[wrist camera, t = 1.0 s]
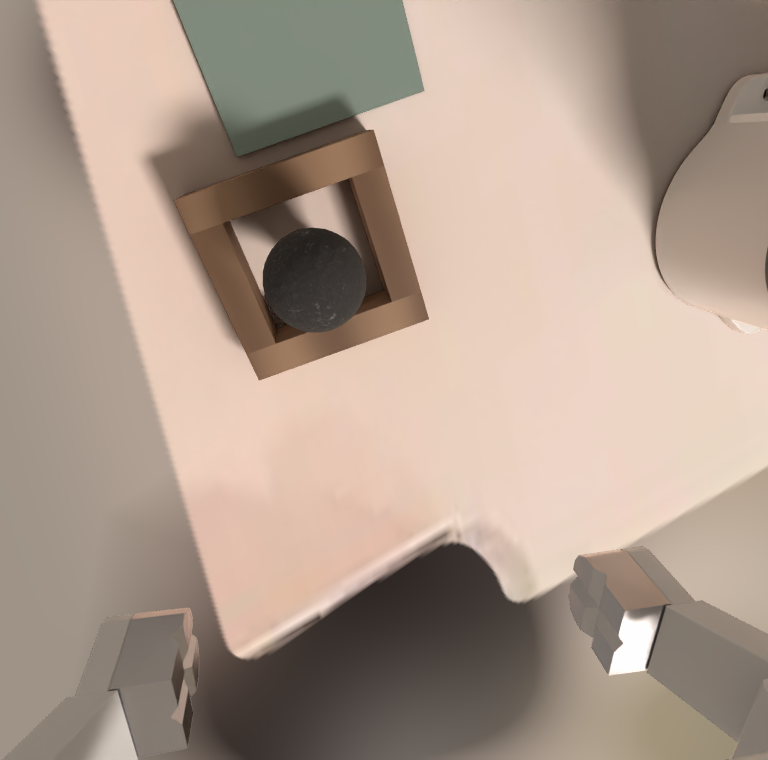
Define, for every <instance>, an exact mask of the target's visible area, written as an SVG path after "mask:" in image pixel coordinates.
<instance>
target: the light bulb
mask: <svg viewBox="0 0 768 760" xmlns="http://www.w3.org/2000/svg"><path fill="white" fill-rule="evenodd" d="M366 281H367V280H366V272H365V268H364V265H363V262H362V259H361V257H360V256H359V254H358V252H357V250H356V249H355V248H354V247H353V246H352V245H351V243H350V242H349V241H348V240H346V239H345V238H343V237H342V236H340V235H338V234H337V233H334V232H332V231H329V230H326V229H320V228H307V229H300V230H297V231H295V232H292V233H290V234H288V235H287V236H285V237H284V238H282V239H281V240H280V241H279V242H278V243H277V244H276V245H275V246H274V248H273V249H272V250H271V251H270V253H269V255H268V257H267V260H266V262H265V265H264V270H263V287H264V292H265V296H266V299H267V301H268V303H269V305H270V306H271V308H272V310H273V311H274V313H275V314H276V315H277V316H278V317H279V318H280V319H281V320H282V321H284V322H285V323H287V324H288V325H290V326H291V327H294V328H296V329H298V330H301V331H306V332H310V333H318V332H326V331H331V330H333V329H335V328H338V327H340V326H342V325H343V324H345V323H346V322H347V321H348V320H349V319H351V318H352V317H353V316H354V314H355V313H356V312H357V311H358V309H359V307H360V305H361V303H362V301H363V299H364V295H365V292H366Z"/></svg>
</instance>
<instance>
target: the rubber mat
mask: <svg viewBox="0 0 768 760" xmlns="http://www.w3.org/2000/svg"><path fill="white" fill-rule="evenodd" d="M173 2H174V4H175V7H176V9H177V11H178V14H179V16H180V19H181V21H182V24H183V26H184V29H185V31H186V33H187V36H188V38H189V41H190V43H191V46H192V48H193V51H194V53H195V56H196V58H197V60H198V63H199V65H200V68H201V70H202V73H203V75H204V78H205V80H206V82H207V85H208V87H209V90H210V92H211V95H212V97H213V100H214V102H215V105H216V107H217V109H218V112H219V114H220V117H221V119H222V122H223V124H224V127H225V129H226V131H227V134H228V136H229V139H230V141H231V144H232V146H233V149H234V151H235V154H236V156H237V157H239V156H242V155H244V154H247V153H250V152H253V151H256V150H258V149H261V148H264V147H267V146H270V145H273V144H275V143H278V142H281V141H284V140H287V139H290V138H292V137H295V136H298V135H301V134H304V133H306V132H309V131H312V130H315V129H318V128H321V127H323V126H326V125H329V124H332V123H335V122H338V121H340V120H343V119H346V118H349V117H352V116H355V115H357V114H360V113H363V112H366V111H369V110H371V109H374V108H377V107H380V106H383V105H386V104H388V103H391V102H394V101H397V100H400V99H403V98H405V97H408V96H411V95H414V94H417V93H420V92H422V91H424V87H423V83H422V79H421V75H420V71H419V67H418V63H417V59H416V55H415V50H414V46H413V42H412V38H411V34H410V30H409V26H408V22H407V18H406V14H405V10H404V6H403V2H402V0H173Z"/></svg>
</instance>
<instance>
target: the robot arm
mask: <svg viewBox="0 0 768 760" xmlns="http://www.w3.org/2000/svg"><path fill="white" fill-rule="evenodd" d="M765 90H766V96H765V98H763V94H764V91H765ZM656 255H657V261H658V265H659V269H660V271H661V274H662V276H663V278H664V281H665V282H666V284H667V286H668V287H669V288H670V290H671V291H672V292H673V293H674V294H675V295H676V296H677V297H678V298H679V299H681V300H682V301H683V302H685V303H687V304H688V305H690V306H693V307H695V308H698V309H702V310H706V311H709V312H713V313H715V314H717V315H719V316H720V317H721V318H722V320H723V321H724V322H725V323H726V324H727V325H728V326H729V327H730V328H732V329H733V330H735V331H738V332H741V333H745V334H753V333H755V332H758V331H759V330H761V329H764V330H767V331H768V73H762V74H754V75H748V76H744V77H742V78H741V79H739V80H738V81H737V82H736V83H735V84H734V85H733V87H732V88H731V89H730V91H729V93H728V94H727V96H726V98H725V100H724V102H723V104H722V107H721V109H720V111H719V113H718V116H717V118H716V120H715V122H714V125H713V126H712V127H711V129H710V130H709V132H708V133H707V134H706V135H705V137H704V138H703V139H702V140H701V141H700V142H699V144H698V145H697V146H696V147H695V148H694V149H693V150H692V152H691V153H690V154H689V155H688V157H687V158H686V159H685V160H684V162H683V163H682V165H681V166H680V168H679V169H678V171H677V173H676V174H675V176H674V178H673V180H672V181H671V183H670V185H669V188H668V190H667V192H666V195H665V197H664V200H663V203H662V205H661V209H660V213H659V217H658V222H657V228H656ZM573 570H574V571H575V573H576V574H577V576H578V577H577V578H576V579H575V580H574V581H573V582H572V583H571V584H570V591H569V602H570V609H571V612H572V614H573V617H574V620H575V621H576V623H577V625H578V626H579V628H580V630H582V631H583V632H585V633H586V634H588V635H589V636H591V637H593V639H592V649H593V651H594V653H595V654H596V656H597V658H598V659H599V661H600V662H601V664H602V666H603V667H604V669H605V670H606V672H607V673H608V675H615V674H623V673H630V672H635V671H636V672H637V671H643V670H647V673H648V674H650V675H651V676H652V677H654V678H655V679H656V680H657V681H659V682H660V683H661V684H663V685H664V686H665V687H666V688H668V689H669V690H670V691H672V692H673V693H674V694H676V695H677V696H678V697H679V698H681V699H682V700H683V701H685V702H686V703H687V704H689V705H690V706H691V707H693V708H694V709H695V710H696V711H698V712H699V713H700V714H702V715H703V716H704V717H706V718H707V719H708V720H710V721H711V722H712V723H713V724H715V725H716V726H717V727H719V728H720V729H721V730H723V731H724V732H725V733H726V734H728V735H729V736H730V737H732V738H733V739H734V740H736V741H737V743H736V745H735V748H734V750H733V752H732V755H731V757H730V759H727V760H768V634H767V633H765V632H763V631H761V630H759V629H757V628H755V627H753V626H751V625H749V624H747V623H745V622H743V621H741V620H739V619H738V618H735V617H734V616H732V615H730V614H728V613H726V612H724V611H722V610H720V609H718V608H716V607H714V606H712V605H710V604H708V603H706V602H704V601H695V600H694V599H693V598H692V597H691V596H690V595H689V594H688V592H687V591H686V590H685V589H684V588H683V587H682V586H681V585H680V584H679V582H678V581H677V580H676V579H675V578H674V577H673V576H672V575H671V574H670V572H669V571H668V570H667V569H666V568H665V567H664V566H663V565H662V564H661V562H660V561H659V560H658V559H657V558H656V557H655V556H654V555H653V554H652V553H651V552H650V550H649V549H647V548H645V547H643V546H640V547H633V548H626V549H621V550H612V551H605V552H598V553H591V554H584V555H579V556H578V557H577V558H576V560H575V563H574V568H573ZM192 626H193V618H192V614H191V610H190V609H189V608H181V609H172V610H162V611H153V612H145V613H135V614H130V615H122V616H112V617H107V618H106V619H105V620H104V622H103V623H102V624H101V626H100V629H99V632H98V635H97V637H96V640H95V643H94V646H93V648H92V651H91V654H90V656H89V659H88V662H87V664H86V667H85V670H84V672H83V675H82V678H81V681H80V683H79V686H78V689H77V691H76V694H75V696H74V697H69V698H66V699H64V700H63V701H62V702H61V703H60V704H59V705H58V706H57V707H56V708H55V709H54V710H53V711H52V712H51V713H50V714H49V715H48V716H47V717H46V718H45V719H44V720H43V721H42V722H41V723H40V724H38V725H37V726H36V727H35V728H34V729H33V730H32V731H31V732H30V733H29V734H28V735H27V736H26V737H25V738H24V739H23V740H22V741H21V742H20V743H19V744H18V745H17V746H16V747H15V748H14V749H13V750H12V751H11V752H10V753H9V754H8V755H7V756H6V757H5V758H4V759H3V760H138V758H142V757H147V756H152V755H157V754H162V753H167V752H171V751H177V750H181V749H186V748H188V743H189V737H190V731H191V724H192V718H193V709H192V705H191V699H190V697H191V696H192V695H193V694H194V692H195V691H196V690H197V684H198V677H199V649H198V643H197V638H196V637H195V636H193V635H192V634H191V632H192Z"/></svg>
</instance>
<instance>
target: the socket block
mask: <svg viewBox="0 0 768 760" xmlns="http://www.w3.org/2000/svg"><path fill="white" fill-rule="evenodd" d="M346 179H349V183H350V186H351V189H352V192H353V195H354V198H355V201H356V204H357V207H358V210H359V213H360V216H361V219H362V223H363V226H364V229H365V232H366V235H367V238H368V241H369V244H370V247H371V250H372V253H373V256H374V259H375V263H376V266H377V269H378V272H379V275H380V278H381V281H382V284H383V287H384V290H383V291H380V292H378V293H375V294H372V295H369V296H366V297H364V299H363V301H362V303H361V305H360V307H359V309H358V311H357V312H356V313H355V314H354V316H353V317H352V318H351V319H349V320H348V321H347V322H346V323H345V324H343V325H342V326H340V327H338V328H335V329H333V330H331V331H326V332H318V333H310V332H306V331H301V330H298V329H296V328H294V327H291V326H290V325H286V326H283V327H280V328H278V329H276V326H275V324H274V322H273V319H272V317H271V315H270V312H269V310H268V308H267V306H266V303H265V301H264V299H263V296H262V294H261V292H260V290H259V287H258V285H257V283H256V280H255V278H254V276H253V274H252V271H251V269H250V267H249V264H248V262H247V260H246V257H245V255H244V253H243V251H242V248H241V246H240V244H239V241H238V239H237V237H236V235H235V232H234V230H233V228H232V225H231V223H230V220H233V219H236V218H239V217H242V216H244V215H247V214H250V213H253V212H256V211H259V210H261V209H264V208H267V207H270V206H273V205H275V204H278V203H281V202H284V201H287V200H289V199H292V198H295V197H298V196H301V195H303V194H306V193H309V192H312V191H315V190H318V189H320V188H323V187H326V186H329V185H332V184H334V183H337V182H340V181H343V180H346ZM174 202H175V204H176V207H177V209H178V211H179V213H180V215H181V217H182V219H183V221H184V223H185V226H186V228H187V230H188V232H189V234H190V236H191V238H192V240H193V242H194V244H195V247H196V249H197V251H198V253H199V255H200V257H201V259H202V261H203V263H204V266H205V268H206V270H207V272H208V274H209V276H210V278H211V280H212V282H213V284H214V287H215V289H216V291H217V293H218V295H219V297H220V299H221V301H222V303H223V305H224V308H225V310H226V312H227V314H228V316H229V318H230V320H231V322H232V324H233V327H234V329H235V331H236V333H237V335H238V337H239V339H240V341H241V343H242V345H243V348H244V350H245V352H246V354H247V356H248V358H249V360H250V362H251V364H252V367H253V369H254V371H255V373H256V375H257V377H258V379H259V380H262V379H265V378H267V377H270V376H273V375H276V374H279V373H281V372H284V371H287V370H290V369H292V368H295V367H298V366H301V365H303V364H306V363H309V362H312V361H315V360H317V359H320V358H323V357H326V356H328V355H331V354H334V353H337V352H339V351H342V350H345V349H348V348H351V347H353V346H356V345H359V344H362V343H364V342H367V341H370V340H373V339H375V338H378V337H381V336H384V335H387V334H389V333H392V332H395V331H398V330H400V329H403V328H406V327H409V326H411V325H414V324H417V323H420V322H423V321H425V320H428V319H429V317H428V314H427V311H426V307H425V304H424V300H423V297H422V294H421V290H420V287H419V283H418V280H417V276H416V273H415V270H414V266H413V263H412V259H411V256H410V253H409V249H408V246H407V242H406V239H405V235H404V232H403V229H402V225H401V222H400V218H399V215H398V212H397V208H396V205H395V201H394V198H393V194H392V191H391V188H390V184H389V181H388V177H387V174H386V171H385V167H384V164H383V160H382V157H381V154H380V150H379V147H378V143H377V140H376V136H375V133H374V130H366V131H363V132H360V133H357V134H355V135H352V136H349V137H346V138H343V139H340V140H338V141H335V142H332V143H329V144H326V145H324V146H321V147H318V148H315V149H312V150H309V151H307V152H304V153H301V154H298V155H295V156H293V157H290V158H287V159H284V160H281V161H278V162H276V163H273V164H270V165H267V166H264V167H261V168H259V169H256V170H253V171H250V172H247V173H245V174H242V175H239V176H236V177H233V178H230V179H228V180H225V181H222V182H219V183H216V184H214V185H211V186H208V187H205V188H202V189H199V190H197V191H194V192H191V193H188V194H185V195H183V196H181V197H179V198H177V199H176V200H174Z"/></svg>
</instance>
